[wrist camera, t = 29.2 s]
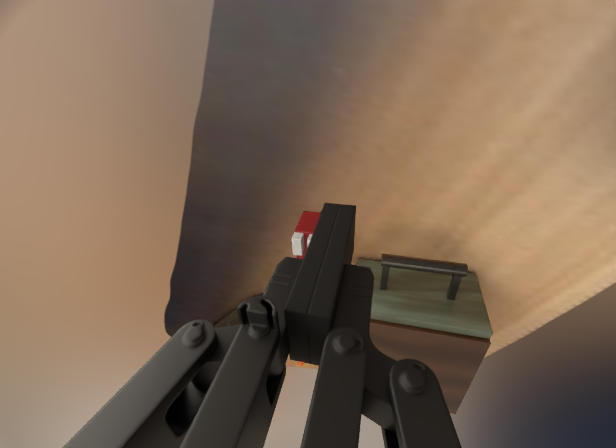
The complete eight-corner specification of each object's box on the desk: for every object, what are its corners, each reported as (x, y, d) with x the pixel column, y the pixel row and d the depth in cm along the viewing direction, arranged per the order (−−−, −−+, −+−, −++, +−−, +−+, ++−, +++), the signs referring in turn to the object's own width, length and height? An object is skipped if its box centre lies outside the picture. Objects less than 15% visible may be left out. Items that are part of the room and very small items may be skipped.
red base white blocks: (303, 211, 45) (291, 237, 40) (326, 213, 44) (316, 240, 39) (305, 247, 49) (294, 275, 44) (326, 250, 48) (317, 279, 43)
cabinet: (356, 262, 48) (347, 319, 40) (473, 278, 45) (490, 343, 36) (352, 332, 59) (343, 389, 50) (446, 349, 55) (455, 414, 46)
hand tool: (226, 332, 70) (216, 350, 66) (211, 322, 69) (201, 340, 65) (274, 300, 59) (266, 320, 55) (258, 288, 58) (249, 307, 55)
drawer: (359, 227, 44) (350, 276, 36) (488, 241, 40) (509, 299, 32) (352, 330, 57) (345, 382, 50) (448, 348, 54) (456, 406, 46)
